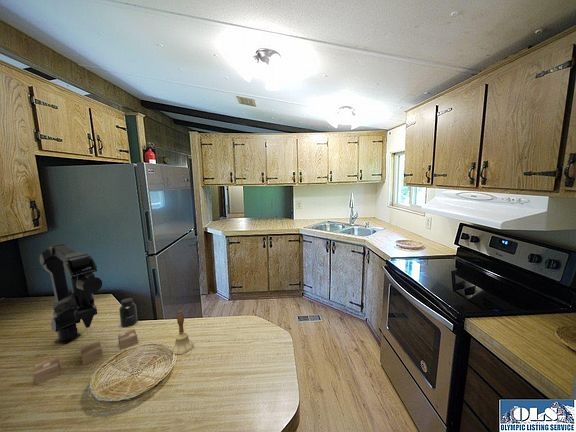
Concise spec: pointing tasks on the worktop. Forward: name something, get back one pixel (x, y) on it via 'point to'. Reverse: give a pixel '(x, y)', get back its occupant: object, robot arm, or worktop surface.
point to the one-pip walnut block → (46, 370)
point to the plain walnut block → (91, 352)
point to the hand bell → (182, 337)
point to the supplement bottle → (128, 312)
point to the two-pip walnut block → (127, 338)
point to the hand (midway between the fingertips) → (87, 326)
